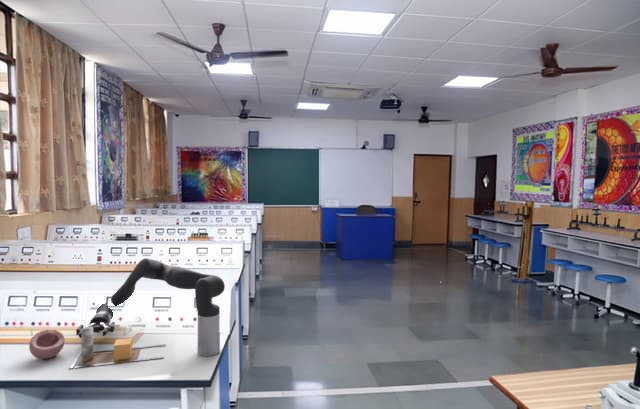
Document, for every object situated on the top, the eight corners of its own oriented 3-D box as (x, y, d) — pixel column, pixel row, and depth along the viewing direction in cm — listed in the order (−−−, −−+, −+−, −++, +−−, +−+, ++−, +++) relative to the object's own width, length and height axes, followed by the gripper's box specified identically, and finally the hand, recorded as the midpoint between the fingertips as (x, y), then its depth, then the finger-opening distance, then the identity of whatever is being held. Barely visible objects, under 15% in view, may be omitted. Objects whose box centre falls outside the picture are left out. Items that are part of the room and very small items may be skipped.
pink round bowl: (35, 367, 153) (34, 339, 152) (25, 358, 160) (24, 331, 159) (69, 356, 162) (69, 330, 162) (58, 348, 170) (57, 323, 169)
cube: (132, 351, 165) (132, 338, 164) (130, 358, 159) (130, 344, 159) (116, 353, 163) (116, 339, 163) (113, 360, 157) (113, 345, 157)
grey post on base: (140, 351, 168) (140, 319, 167) (137, 362, 158) (137, 328, 157) (82, 358, 161) (82, 324, 160) (75, 369, 151) (75, 334, 150)
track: (165, 348, 173) (165, 344, 173) (163, 362, 160) (163, 357, 160) (78, 357, 162) (78, 353, 162) (69, 373, 149) (69, 368, 149)
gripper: (83, 314, 177) (72, 327, 161) (118, 312, 181) (111, 324, 166) (83, 330, 177) (73, 345, 162) (118, 327, 181) (111, 341, 166)
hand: (92, 334), depth 164 cm, fingers open, 8 cm apart
